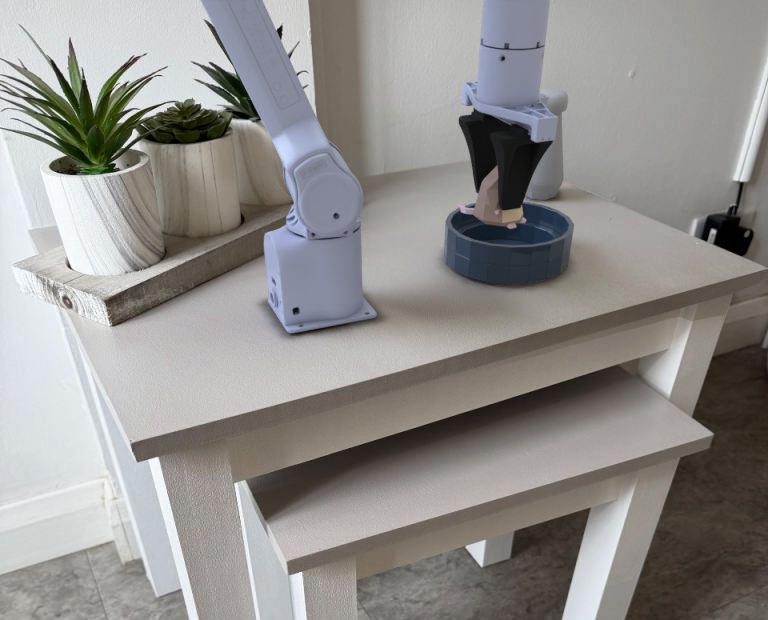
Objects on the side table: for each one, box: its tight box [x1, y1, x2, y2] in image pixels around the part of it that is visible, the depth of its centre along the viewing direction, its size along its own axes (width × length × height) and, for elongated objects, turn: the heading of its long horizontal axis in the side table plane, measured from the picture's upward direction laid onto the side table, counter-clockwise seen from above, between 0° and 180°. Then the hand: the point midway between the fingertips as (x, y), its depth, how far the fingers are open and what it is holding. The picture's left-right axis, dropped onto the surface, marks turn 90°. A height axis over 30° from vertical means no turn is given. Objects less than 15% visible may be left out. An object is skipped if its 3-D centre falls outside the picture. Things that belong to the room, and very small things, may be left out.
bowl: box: [443, 201, 575, 285], centre depth 90 cm, size 14×14×4 cm
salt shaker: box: [525, 87, 569, 201], centre depth 104 cm, size 6×6×13 cm
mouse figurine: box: [456, 166, 526, 229], centre depth 78 cm, size 5×8×7 cm, turn 48°
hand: (498, 200), depth 79 cm, fingers closed on mouse figurine, 4 cm apart
